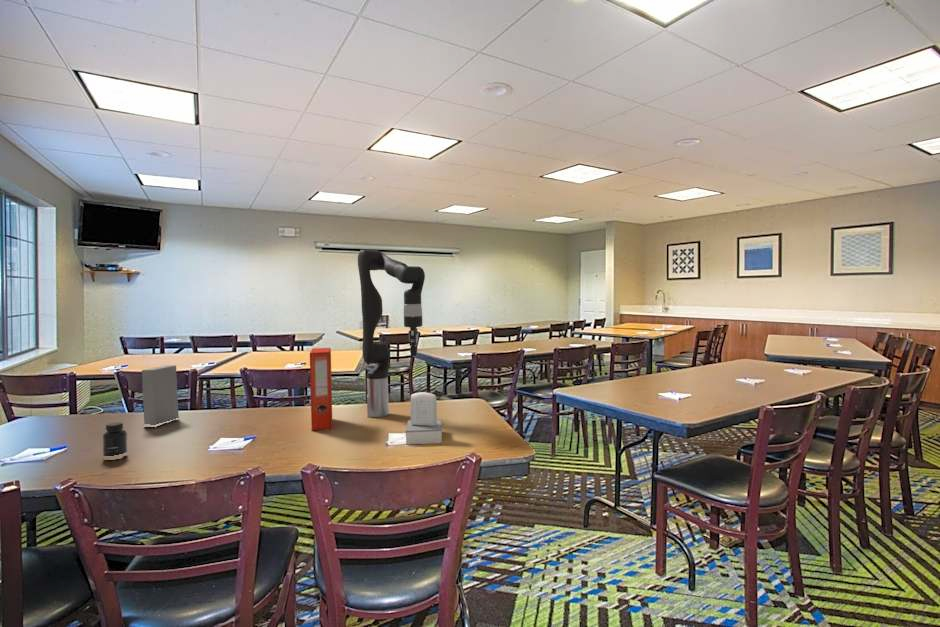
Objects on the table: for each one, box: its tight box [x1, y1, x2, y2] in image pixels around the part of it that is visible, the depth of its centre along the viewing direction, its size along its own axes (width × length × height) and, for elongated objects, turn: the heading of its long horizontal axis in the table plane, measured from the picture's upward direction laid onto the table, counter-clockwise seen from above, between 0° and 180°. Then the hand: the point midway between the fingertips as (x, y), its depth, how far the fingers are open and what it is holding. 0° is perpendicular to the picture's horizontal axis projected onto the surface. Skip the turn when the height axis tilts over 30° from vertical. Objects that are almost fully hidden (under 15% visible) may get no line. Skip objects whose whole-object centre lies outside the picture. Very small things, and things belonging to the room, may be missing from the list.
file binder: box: [309, 347, 333, 431], centre depth 205 cm, size 8×17×32 cm, turn 15°
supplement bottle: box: [102, 422, 128, 457], centre depth 168 cm, size 7×7×12 cm
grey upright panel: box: [141, 364, 180, 425], centre depth 213 cm, size 14×6×25 cm, turn 172°
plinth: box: [405, 418, 443, 445], centre depth 184 cm, size 13×15×5 cm
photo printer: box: [410, 391, 438, 426], centre depth 184 cm, size 10×4×12 cm, turn 76°
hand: (414, 354), depth 199 cm, fingers open, 8 cm apart
